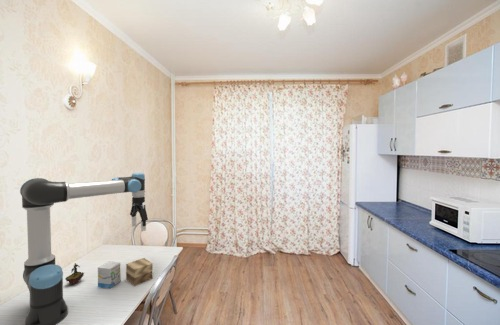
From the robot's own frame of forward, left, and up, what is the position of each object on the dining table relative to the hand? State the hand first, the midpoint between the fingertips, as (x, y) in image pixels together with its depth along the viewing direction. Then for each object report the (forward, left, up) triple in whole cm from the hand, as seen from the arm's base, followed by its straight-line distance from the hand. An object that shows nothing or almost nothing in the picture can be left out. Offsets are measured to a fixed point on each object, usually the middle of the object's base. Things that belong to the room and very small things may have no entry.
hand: (138, 228), depth 155 cm
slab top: (-5, -11, -23) cm, 26 cm away
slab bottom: (-5, -11, -28) cm, 31 cm away
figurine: (-32, +13, -28) cm, 44 cm away
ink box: (-19, -3, -28) cm, 34 cm away
